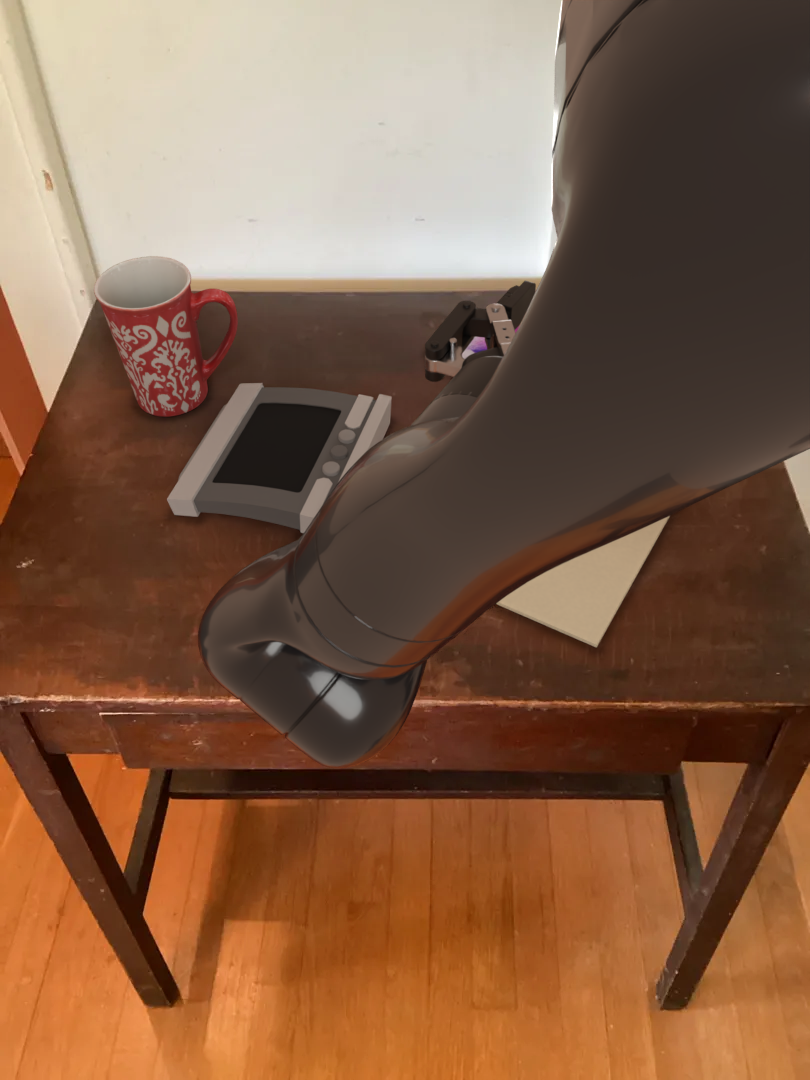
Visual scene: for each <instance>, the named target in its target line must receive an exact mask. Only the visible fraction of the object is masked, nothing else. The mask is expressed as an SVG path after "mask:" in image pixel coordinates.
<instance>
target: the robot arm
mask: <svg viewBox="0 0 810 1080" xmlns="http://www.w3.org/2000/svg"><path fill="white" fill-rule="evenodd" d="M558 16H559V17H558V26H557V34H556V42H555V44H556V45H555V55H554V81H553V82H554V83H553V84H554V86H553V115H552V116H553V118H552V119H553V120H552V149H551V150H552V153H551V154H552V156H551V157H552V160H551V161H552V162H551V170H550V171H551V173H550V174H551V175H550V176H551V177H550V178H551V181H550V182H551V184H550V186H551V187H550V188H551V189H550V192H551V193H550V194H551V195H550V199H551V204H550V205H551V215H552V221H553V224H554V225H553V226H554V229H555V235H556V241H555V244H554V247H553V249H552V251H551V254H550V257H549V260H548V263H547V265H546V268H545V271H544V272H543V275H542V277H541V279H540V281H539V283H538V285H537V284H536V283H535V282H533V281H529V280H524V281H522V282H521V284H520V285H516V284H515V285H514V286H512V287H510V288H509V289H508V290H507V291H506V292H505V293H504V294H503V295H502V297H501V298H500V299H499V300H498V301H497V302H496V303H495V302H493V303H490V304H488V305H487V306H486V308H480V307H477V306H476V305H477V304H476V303H475V302H474V301H471V300H462V301H459V302H458V303H457V304H456V305H455V307H454V308H453V309H451V310H452V311H450V313H448V315H447V316H446V318H445V319H444V320H443V321H442V322H441V324H440V325H439V326H438V327H437V329H436V330H435V331H433V333H432V334H431V335H430V336H429V338H428V339H427V341H426V342H425V344H424V377H425V380H427V381H428V382H432V383H437V382H440V381H442V380H443V379H444V378H445V377H446V376H448V377H451V379H450V380H449V381H448V383H447V384H446V385H445V386H444V387H443V388H442V390H441V391H440V392H439V393H438V394H437V395H436V396H435V397H434V398H433V399H432V401H430V403H429V404H428V405H427V406H426V408H424V410H422V412H421V413H420V414H419V415H418V417H416V418H415V420H414V421H413V422H412V423H411V424H410V425H409V426H406V427H403V428H401V429H398V430H396V431H395V432H393V433H390V434H389V435H387V436H386V437H384V438H383V440H381V441H380V442H378V443H376V444H375V445H374V446H372V447H371V448H370V449H369V450H367V451H366V452H365V453H364V454H363V455H362V456H361V457H360V458H359V459H358V460H357V461H356V462H355V463H354V464H353V466H352V467H351V468H350V469H349V470H348V471H347V472H346V473H345V474H344V476H343V477H342V478H341V479H340V481H339V482H338V483H337V485H336V486H335V488H334V489H333V491H332V492H331V493H330V495H329V496H328V498H327V499H326V501H325V502H324V504H323V505H322V507H321V508H320V510H319V511H318V513H317V514H316V516H315V517H314V519H313V520H312V522H311V523H310V524H309V526H308V527H307V529H306V530H305V532H304V533H302V534H301V536H300V537H299V538H298V539H297V540H295V541H292V542H290V543H288V544H285V545H283V546H280V547H278V548H276V549H274V550H272V551H269V552H267V553H266V554H263V555H262V556H260V557H259V558H257V559H255V560H254V561H251V563H249V564H247V565H246V566H245V567H242V569H240V570H239V571H237V573H235V574H234V575H232V577H230V578H229V579H228V580H227V582H225V583H224V584H223V585H222V586H221V587H220V589H218V591H217V592H216V593H215V594H214V595H213V597H212V599H211V600H210V601H209V603H208V605H207V606H206V608H205V610H204V612H203V614H202V616H201V619H200V622H199V626H198V631H197V648H198V652H199V655H200V656H199V657H200V658H201V661H202V663H203V666H204V668H205V669H206V671H207V672H208V673H209V675H210V676H211V678H213V679H214V680H215V681H216V683H218V685H220V686H221V687H222V688H223V689H224V690H226V691H227V692H228V693H229V694H230V695H232V696H233V697H234V698H236V699H237V700H239V701H240V702H241V703H242V704H243V705H245V706H246V707H247V708H248V709H250V711H252V712H253V713H254V714H255V715H257V716H258V717H259V718H260V719H262V720H263V721H264V722H265V723H266V724H268V726H269V727H271V728H272V729H274V730H275V731H276V732H277V733H278V734H280V735H281V736H283V735H284V738H285V739H286V740H287V741H288V742H289V743H290V744H292V745H293V746H294V747H296V749H298V751H300V752H302V753H303V754H304V755H305V756H307V757H308V758H309V759H311V760H312V761H314V762H315V763H317V764H319V765H320V766H322V767H326V768H330V769H341V770H343V769H348V768H352V767H356V766H359V765H362V764H364V763H365V762H368V761H370V760H371V759H373V758H375V757H376V756H377V755H379V754H380V753H381V752H383V750H385V749H386V748H387V747H388V746H389V745H390V744H391V743H392V741H393V740H394V739H395V738H396V736H397V735H398V734H399V732H400V731H401V729H402V728H403V726H404V724H405V723H406V721H407V719H408V717H409V714H410V713H411V711H412V708H413V706H414V703H415V700H416V698H417V695H418V692H419V689H420V687H421V683H422V680H423V677H424V673H425V670H426V667H427V662H428V660H429V659H430V658H431V657H433V656H434V655H436V653H438V652H439V651H440V650H441V649H442V648H444V647H445V646H446V645H447V644H448V643H450V642H451V641H452V640H454V638H456V637H457V636H458V635H459V634H461V633H462V632H463V631H464V630H466V629H467V628H468V627H469V626H470V625H472V624H474V622H475V621H477V619H479V618H480V617H481V616H482V615H484V614H485V613H486V612H487V611H488V610H490V609H491V608H492V607H494V606H495V605H497V604H496V603H498V602H499V601H500V600H502V599H503V598H504V597H506V596H507V595H509V594H510V593H512V592H513V591H515V590H516V589H518V588H519V587H521V586H523V585H524V584H526V583H527V582H529V581H531V580H533V579H534V578H536V577H538V576H540V575H542V574H543V573H545V572H547V571H549V570H551V569H553V568H556V567H558V566H560V565H562V564H564V563H566V562H568V561H570V560H572V559H574V558H576V557H579V556H581V555H583V554H586V553H588V552H590V551H593V550H595V549H597V548H599V547H602V546H604V545H606V544H608V543H611V542H613V541H615V540H618V539H620V538H622V537H624V536H627V535H629V534H631V533H633V532H636V531H638V530H640V529H642V528H644V527H647V526H649V525H651V524H653V523H655V522H657V521H660V520H662V519H664V518H666V517H668V516H670V517H671V516H673V515H675V514H677V513H679V512H681V511H683V510H685V509H687V508H689V507H691V506H693V505H695V504H697V503H699V502H701V501H703V500H705V499H708V498H709V497H711V496H713V495H715V494H717V493H720V492H722V491H723V490H725V489H727V488H730V487H732V486H734V485H736V484H738V483H741V482H742V481H745V480H747V479H749V478H751V477H753V476H755V475H757V474H760V473H762V472H764V471H766V470H769V469H770V468H773V467H774V466H776V465H778V464H781V463H783V462H785V461H787V460H789V459H792V458H794V457H795V456H798V455H800V454H802V453H804V452H806V451H809V450H810V0H561V3H560V9H559V15H558ZM518 326H519V327H518ZM517 327H518V329H517V331H516V333H515V330H516V328H517ZM474 337H485V343H486V346H487V350H484V351H480V352H477V353H473V354H471V355H469V356H468V357H467V358H465V359H464V358H463V357H462V353H463V352H464V351H465V349H466V348H467V347H468V346H469V344H470V343H471V342H472V340H473V339H474Z"/></svg>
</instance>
